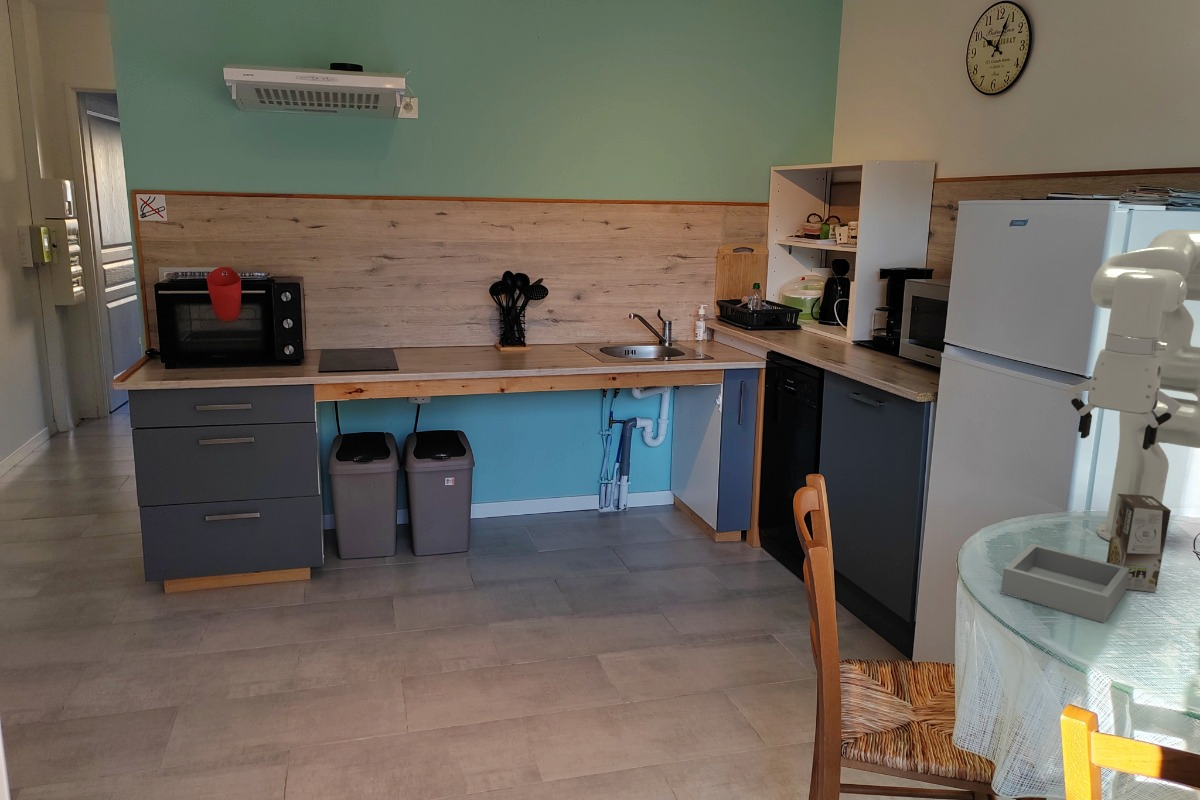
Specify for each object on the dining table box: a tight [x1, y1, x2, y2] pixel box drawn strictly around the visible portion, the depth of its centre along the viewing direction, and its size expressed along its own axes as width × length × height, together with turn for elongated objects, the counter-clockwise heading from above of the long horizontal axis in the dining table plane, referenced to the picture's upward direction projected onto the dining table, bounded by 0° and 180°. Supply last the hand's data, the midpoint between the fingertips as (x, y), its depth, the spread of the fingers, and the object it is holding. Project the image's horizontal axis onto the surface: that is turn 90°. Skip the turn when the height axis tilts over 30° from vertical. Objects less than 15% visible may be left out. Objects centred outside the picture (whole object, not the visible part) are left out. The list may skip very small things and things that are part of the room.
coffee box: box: [1106, 494, 1172, 593], centre depth 171 cm, size 9×6×16 cm
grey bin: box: [1000, 543, 1130, 624], centre depth 166 cm, size 17×17×5 cm
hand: (1114, 442), depth 158 cm, fingers open, 9 cm apart
